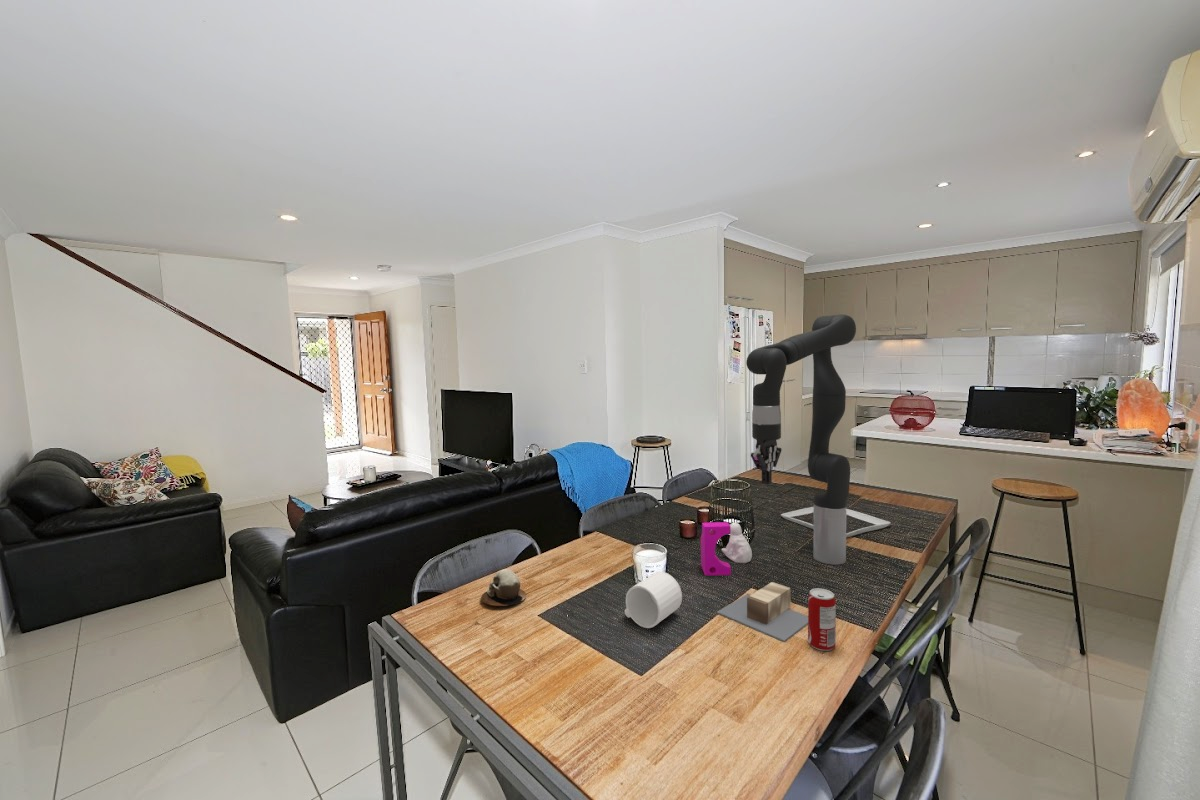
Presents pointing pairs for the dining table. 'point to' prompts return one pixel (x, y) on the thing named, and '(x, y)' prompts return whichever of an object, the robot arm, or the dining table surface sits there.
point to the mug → (653, 599)
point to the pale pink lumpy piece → (737, 546)
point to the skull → (504, 589)
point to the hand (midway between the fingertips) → (766, 483)
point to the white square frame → (861, 516)
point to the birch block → (768, 602)
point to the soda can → (821, 619)
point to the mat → (776, 628)
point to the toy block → (713, 548)
